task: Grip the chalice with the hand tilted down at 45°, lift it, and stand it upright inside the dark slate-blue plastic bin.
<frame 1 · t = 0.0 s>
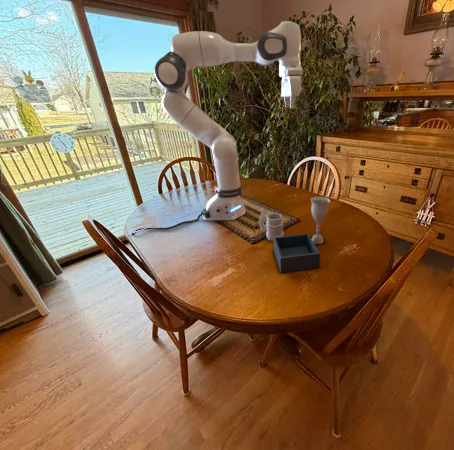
hand: (289, 108, 106), 48 cm above the table, tool pointing down, fingers open, 8 cm apart
bin: (295, 258, 87), on the table
chalice: (317, 241, 97), on the table
mug: (271, 236, 102), on the table
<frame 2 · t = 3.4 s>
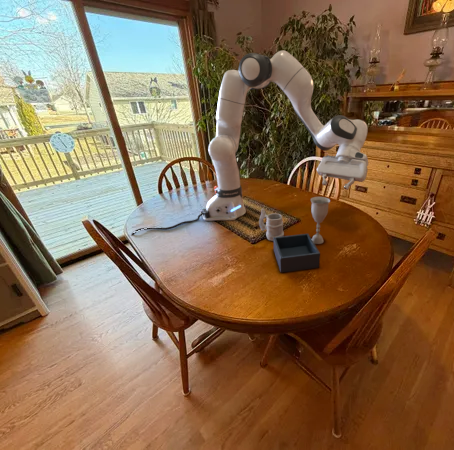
hand: (334, 186, 96), 20 cm above the table, tool tilted 45°, fingers open, 8 cm apart
nothing on the table moved.
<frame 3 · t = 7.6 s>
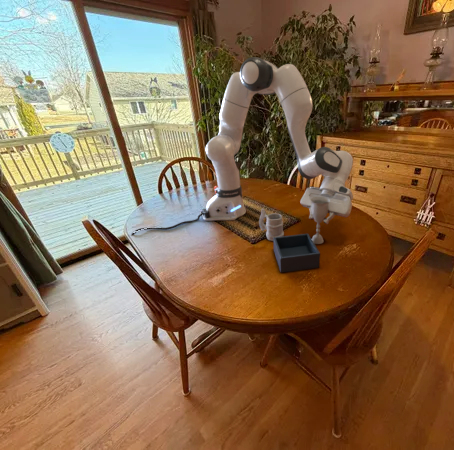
hand: (318, 221, 92), 9 cm above the table, tool tilted 45°, fingers closed on chalice, 5 cm apart
chalice: (317, 241, 97), on the table, touching gripper
everything else where it was.
when the fingers open (10 cm above the table, at t = 15.9 s): chalice stays where it is, resting on bin.
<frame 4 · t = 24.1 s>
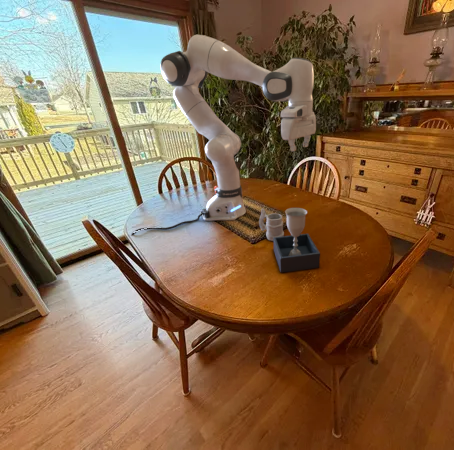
hand: (299, 148, 95), 34 cm above the table, tool pointing down, fingers open, 8 cm apart
chalice: (295, 256, 87), point 1 cm above the table, touching bin
everything else where it was.
at the end: chalice inside the target area in the bin (0.1 cm from its centre), point 0.8 cm above the bin's base; chalice tilted 0°; the gripper is holding nothing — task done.
